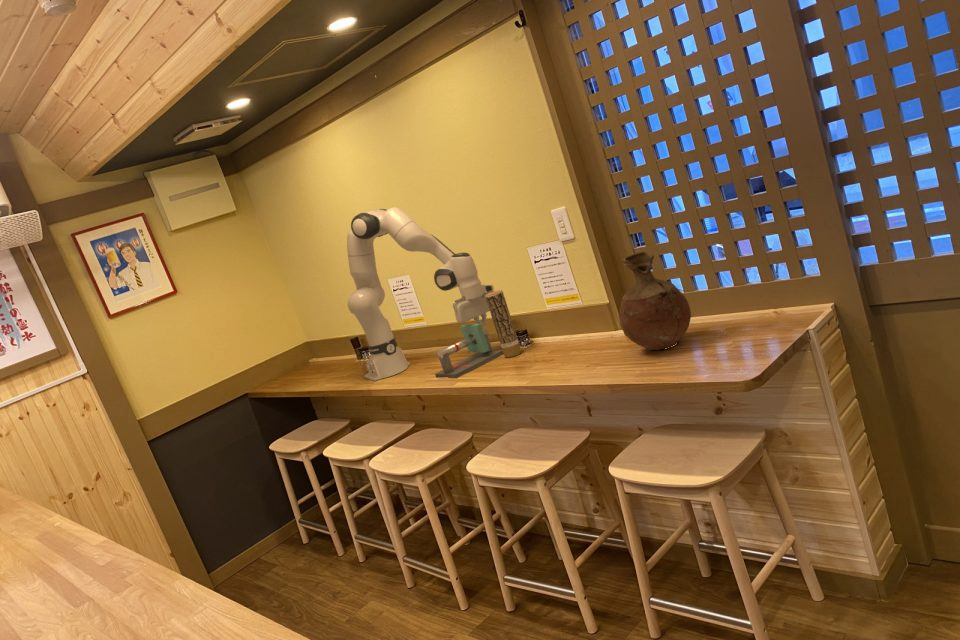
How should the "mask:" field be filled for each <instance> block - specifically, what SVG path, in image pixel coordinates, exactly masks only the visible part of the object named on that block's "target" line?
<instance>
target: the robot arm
mask: <svg viewBox="0 0 960 640" xmlns="http://www.w3.org/2000/svg"><path fill="white" fill-rule="evenodd" d="M385 235H389V236H390V237H391V239H393V240H394V241H395V242H396V243H397V245H399V247H400V248H403V250H405V251H408V252H412V253H413V252H423V253H428V254H431V255H433V256H434V257H435V258H436V259H437V260H439V261H440V262H441V263H442V264H443V265H442V266H441V267H439V268H438V269H437V270H436V271H435V272H434V275H433V280H434V284H435V285H436V287H438V289H439V290H441V291H443V292H444V291H445V292H448V291H451V290H453V289H456V288H458V290H459V292H460V296H461V297H459V298H458V299H455V300H454V302H453V304H452V308H453V310H454V316H455V320H456V322H457V323H459V324H464V323H467V322H469V321H470V320H473V321H474V322H475V324H481V326H482V328H483V327H484V326H487V325H488V324H487V313H489V312H490V310H489V307H488V304H487V300H486V297H485V295H486V294H489V293H491V292H494V291H495V288H494V285H493V284H482V282H481V280H480V278H479V273H478V270H477V267H476V263H475V261H474V259H473V257H472V255H471V254H470V253H468V252H459V253H455V252H454V251H453V250H452V249H450V248H449V247H448V246H447V245H445V244H444V243H443V241H441V240H440V239H438V238H437V237H436V236H434V235H433V234H431V233H429V232H427V230H425V229H424V228H422V227H421V226H420V224H418V223H417V222H416V221H415V220H414V219H413V218H412V217H411V216H409V214H408V213H406V212H405V211H403V210H402V209H401V208H399V207H394V206H393V207H389V208H388V209H386V208H379V209H378V208H377V209H371V210H367V211H365V212H361V213H358V214H357V215H355V216H354V217H353V218H352V220H351V222H350V230H349V231H348V232H347V237H346V249H347V252H346V253H347V260H348V266H349V267H348V268H349V273H350V276H351V277H352V279H353V280H354V284H355V287H356V290H354V291H353V292H352V293H351V294H350V296H349V298H348V300H347V308H348V310H349V313H351V314H353V315H354V316H355V318H356V320H357V321H358V323H359V324H360V326H361V328H362V330H363V333H364V334H365V337H366V340H367V344H368V347H367V348H368V351H369V354H370V355H369V357H368V360H367V361H366V365H365V369H366V371H368V373H366V374H365V375H364V378H365V379H367V380H371V381H374V382H376V381H379V380H382V379H386V378H388V377H392V376H395V375H398V374H400V373H402V372H404V371H406V370H407V369H408V368H409V366H410V365H411V363H410V361H408V360H407V359H406V356H405V354H404V352H403V349H402V348H401V347H399V346H398V342H397V339H396V337H394V334H393V330H392V328H391V325H390V322H389V320H388V319H387V318H386V317H385V316H384V315H383V313H382V311H381V309H380V307H381V305H382V304H383V303H384V300H385V297H386V294H385V293H386V292H385V290H384V288H383V287H382V284H381V280H380V278H379V274H378V270H377V265H376V264H377V263H376V255H375V249H374V241H375V239H376V238H381V237H383V236H385ZM480 317H481V320H480Z"/></svg>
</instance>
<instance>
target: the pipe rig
mask: <svg viewBox="0 0 960 640" xmlns="http://www.w3.org/2000/svg"><path fill="white" fill-rule="evenodd" d="M483 332H484V335H485V339H486V342H487V345H488V348H489V351H487V352H483V353H491V352H493V351H494V350H493V348H492V347H493V346H492V343H491V341H490V337H489V331H488V330H487V329H486V328H485V329H483ZM475 342H477V341H476V338H475V335H474V334H473V335H472V336H470V337H468V338H466V339H464V338H463V339H462V340H460V341H457V342H455V343H452V344H451V345H449V346H447V347H445V348H442V349H441V350H439V351H436V357H437V359H438V360H439V362H440V365H441V368H442V370H443V371H444V373H451V372H453V371H454V370H453V367H452V365H453V364H452V361H451V358H450V355H453V354H455V353H457V352H458V351H460V350H463V349H465V348H467V346H469V345H471V344H473V343H475Z"/></svg>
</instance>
